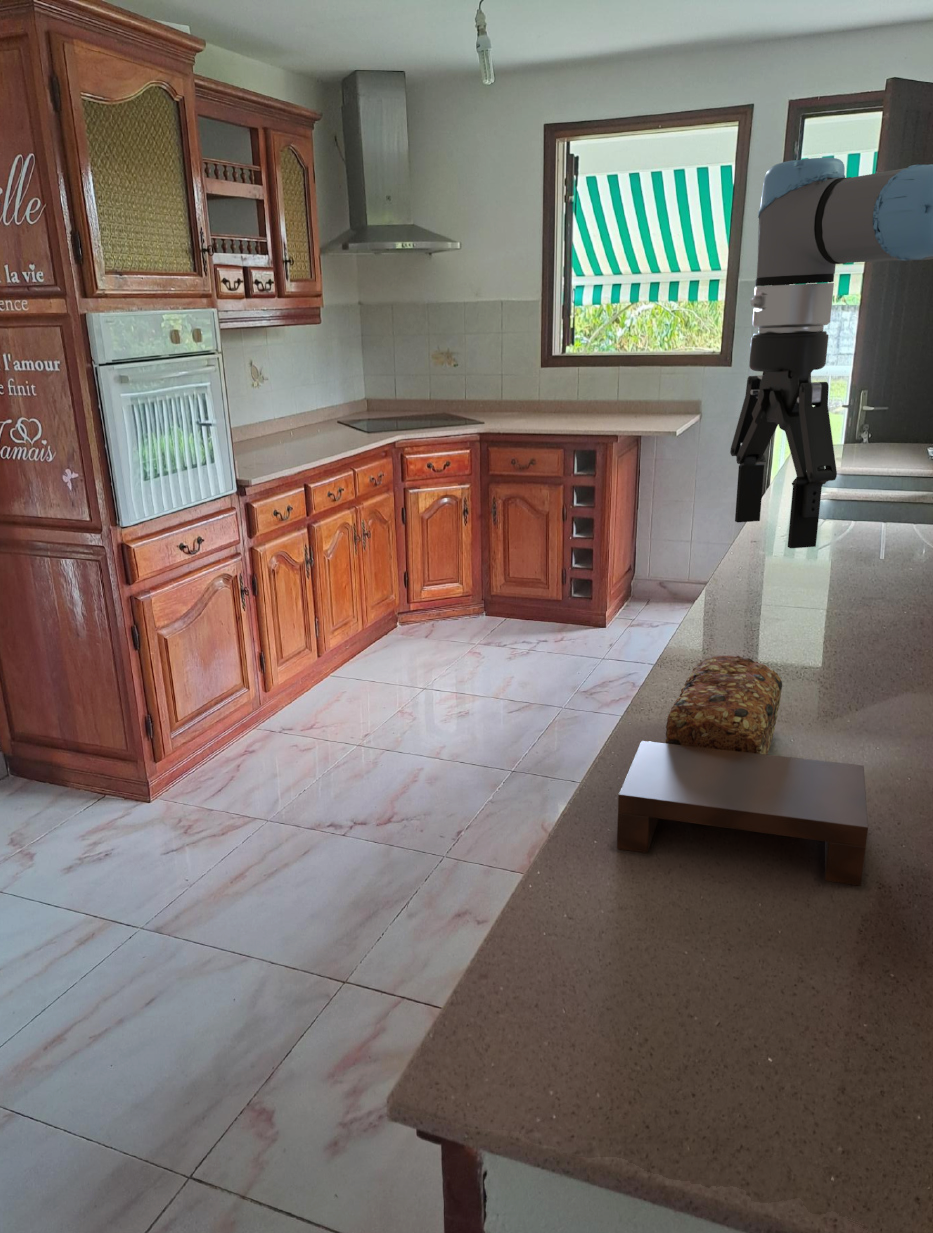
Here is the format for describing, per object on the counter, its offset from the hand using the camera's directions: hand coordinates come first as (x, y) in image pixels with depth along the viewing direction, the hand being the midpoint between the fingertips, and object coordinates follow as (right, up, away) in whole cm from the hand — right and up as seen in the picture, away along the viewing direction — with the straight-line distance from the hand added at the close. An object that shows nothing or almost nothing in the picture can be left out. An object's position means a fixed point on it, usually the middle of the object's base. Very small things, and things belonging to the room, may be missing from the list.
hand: (772, 533), depth 106 cm
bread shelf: (-7, -32, -10) cm, 34 cm away
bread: (-3, -25, +6) cm, 26 cm away
